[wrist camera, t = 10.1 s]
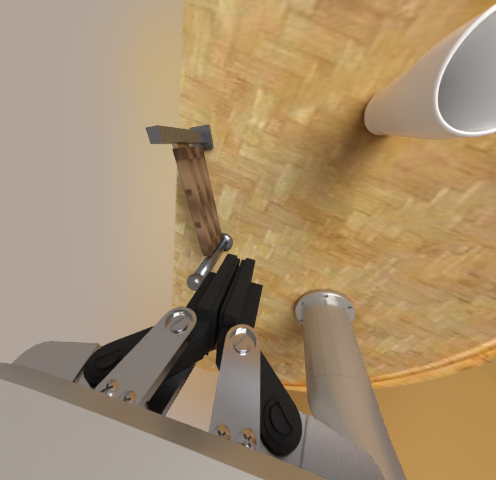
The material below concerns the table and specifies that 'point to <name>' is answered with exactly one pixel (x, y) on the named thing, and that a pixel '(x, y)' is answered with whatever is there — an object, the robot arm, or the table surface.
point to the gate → (199, 196)
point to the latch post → (181, 136)
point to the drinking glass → (443, 88)
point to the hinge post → (209, 263)
